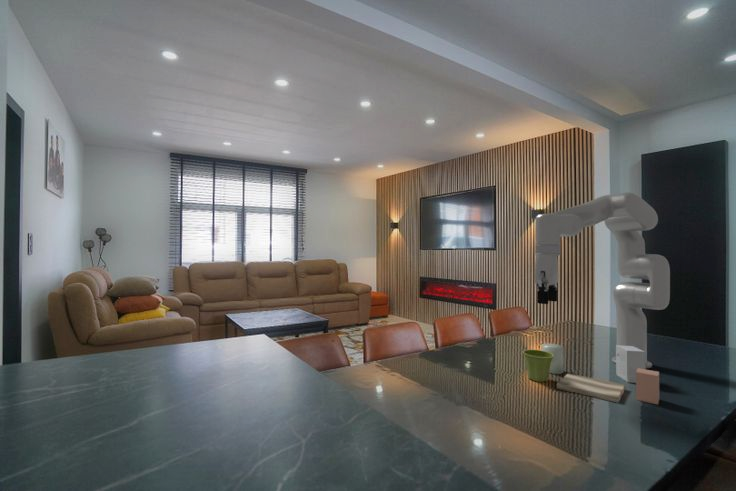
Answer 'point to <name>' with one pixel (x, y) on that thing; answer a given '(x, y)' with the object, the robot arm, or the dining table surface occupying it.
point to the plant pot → (538, 364)
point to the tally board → (592, 387)
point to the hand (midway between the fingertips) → (547, 302)
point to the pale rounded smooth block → (555, 357)
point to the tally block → (647, 386)
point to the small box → (629, 362)
